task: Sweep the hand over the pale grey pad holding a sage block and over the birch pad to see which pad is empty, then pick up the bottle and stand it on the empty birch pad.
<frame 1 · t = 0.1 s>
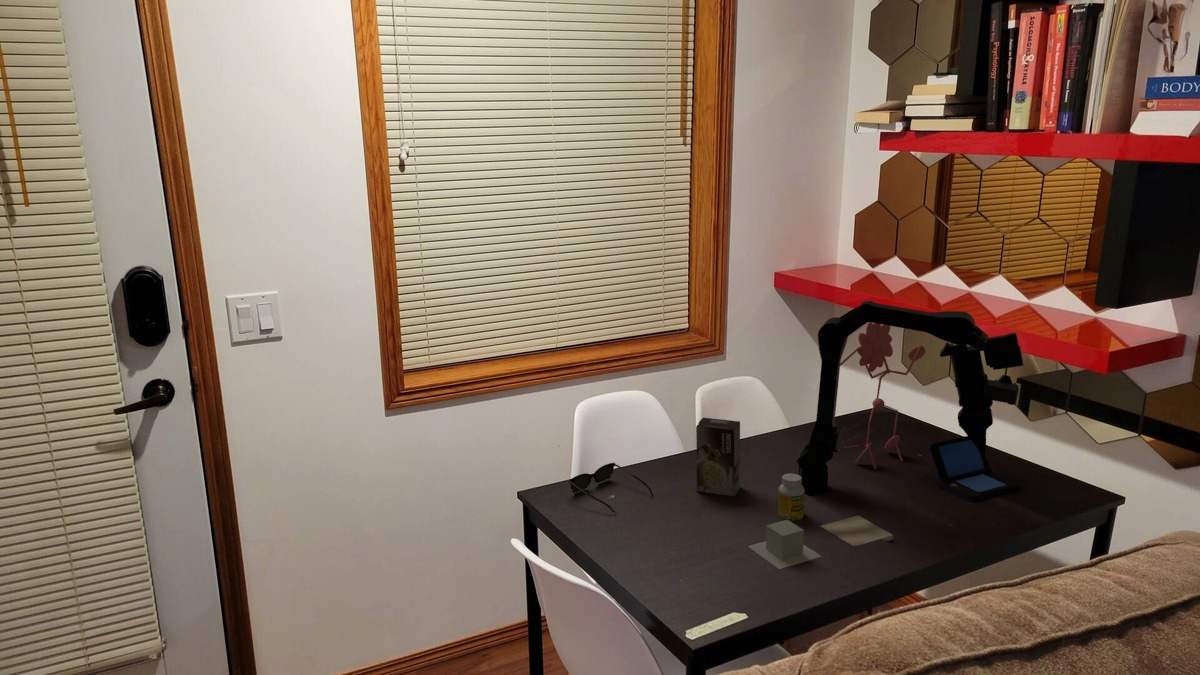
hand: (983, 444, 176), 15 cm above the table, tool pointing down, fingers open, 9 cm apart
sunglasses: (613, 499, 192), on the table
coffee box: (718, 489, 195), on the table
sage block: (784, 551, 164), point 1 cm above the table, touching grey pad
figurine: (867, 457, 211), on the table
supplement bottle: (790, 519, 179), on the table
grey pad: (784, 555, 164), on the table
handheld game console: (972, 486, 194), on the table
birch pad: (855, 534, 172), on the table
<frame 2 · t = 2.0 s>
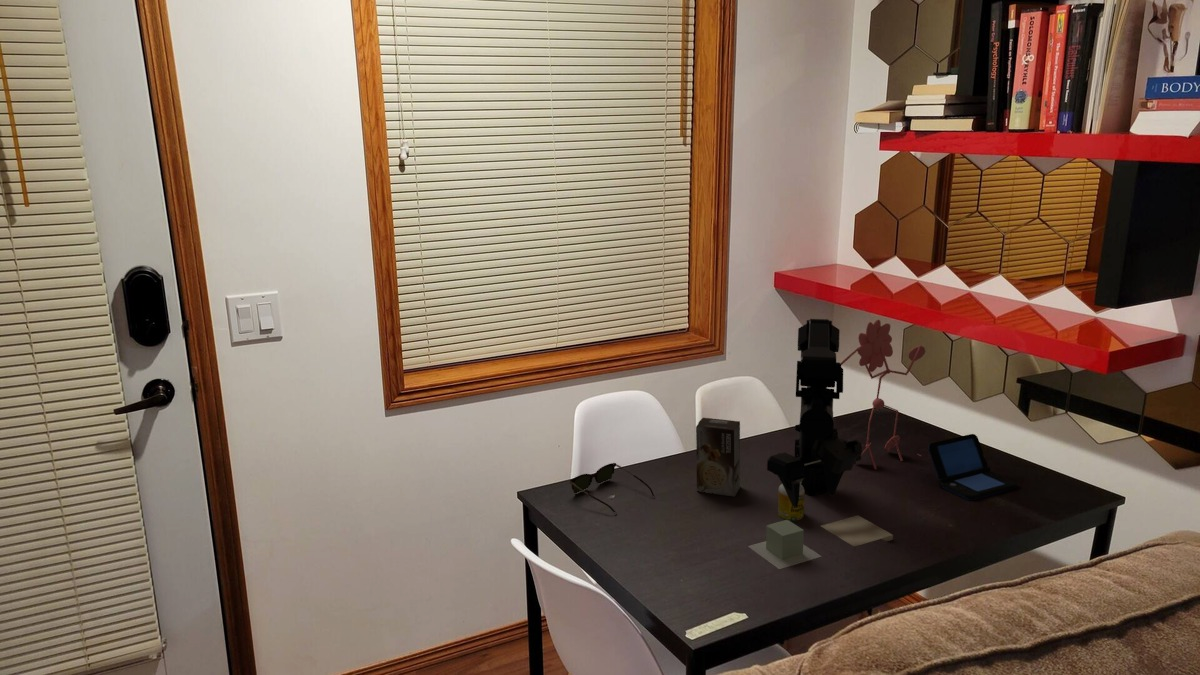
hand: (813, 500, 159), 12 cm above the table, tool pointing down, fingers open, 9 cm apart
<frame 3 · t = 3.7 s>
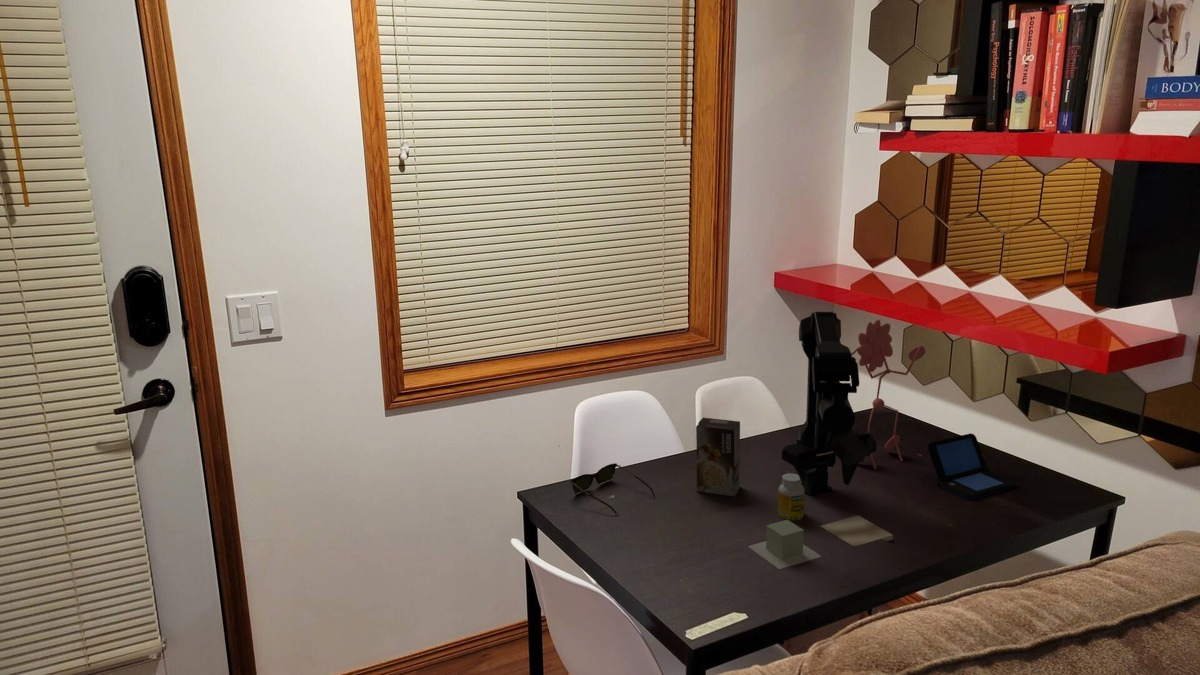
hand: (827, 489, 166), 12 cm above the table, tool pointing down, fingers open, 9 cm apart
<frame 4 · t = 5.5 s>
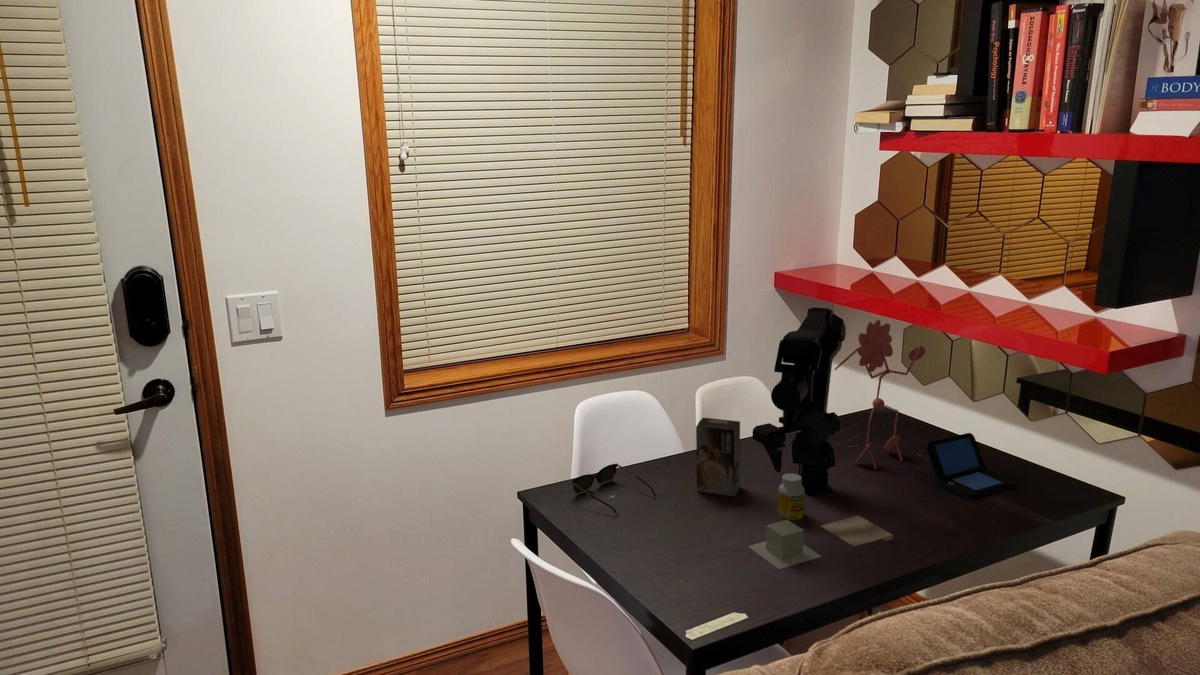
hand: (795, 467, 176), 12 cm above the table, tool pointing down, fingers open, 9 cm apart
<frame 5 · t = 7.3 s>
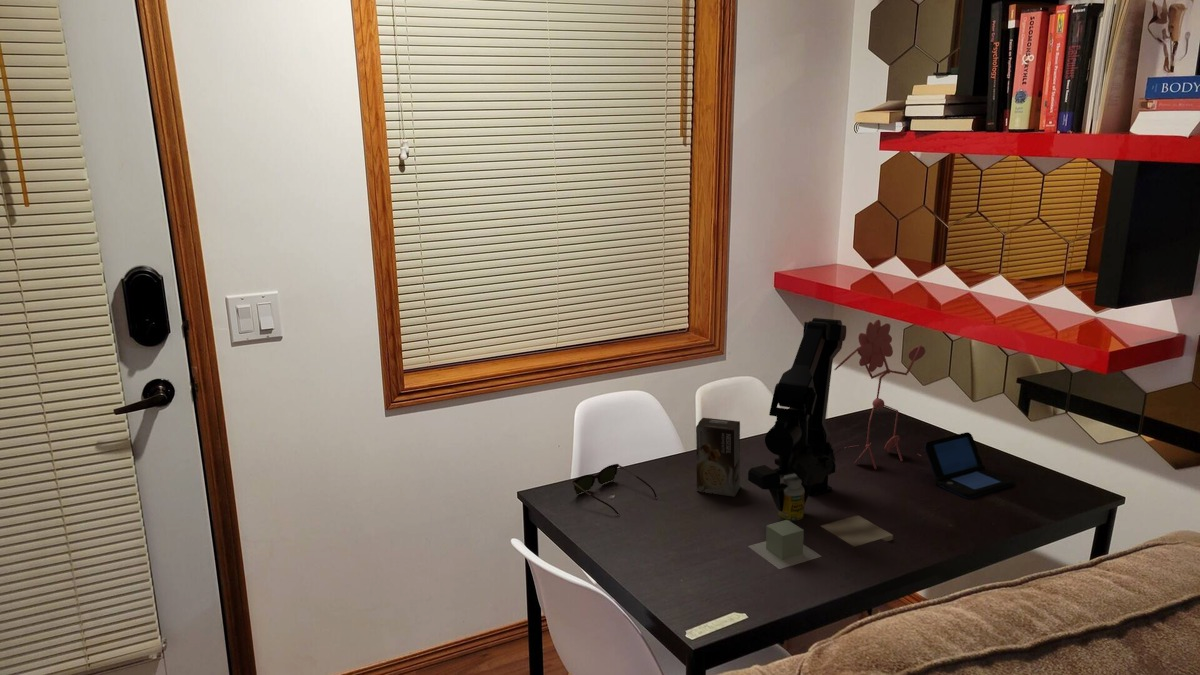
hand: (791, 507, 179), 3 cm above the table, tool pointing down, fingers closed on supplement bottle, 5 cm apart
supplement bottle: (790, 519, 179), on the table, touching gripper
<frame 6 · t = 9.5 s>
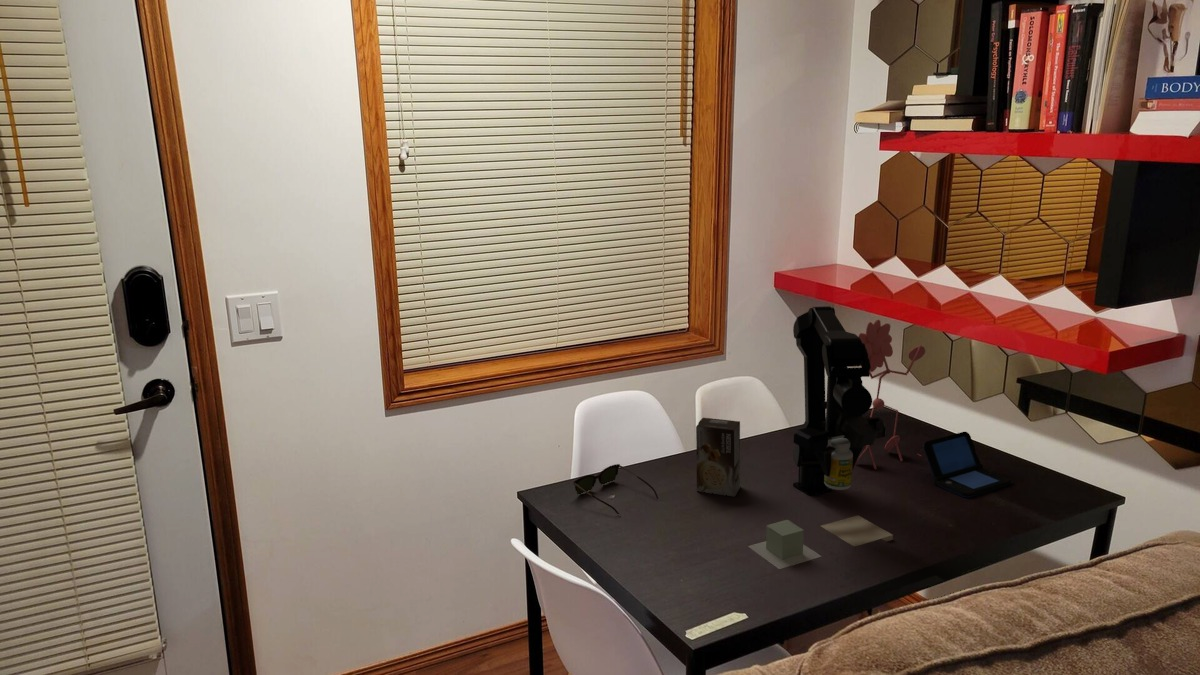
hand: (838, 473, 170), 13 cm above the table, tool pointing down, fingers closed on supplement bottle, 5 cm apart
supplement bottle: (837, 486, 171), point 10 cm above the table, touching gripper
when the fingers open (5 cm above the table, at t = 12.0 s): supplement bottle drops 1 cm, resting on birch pad.
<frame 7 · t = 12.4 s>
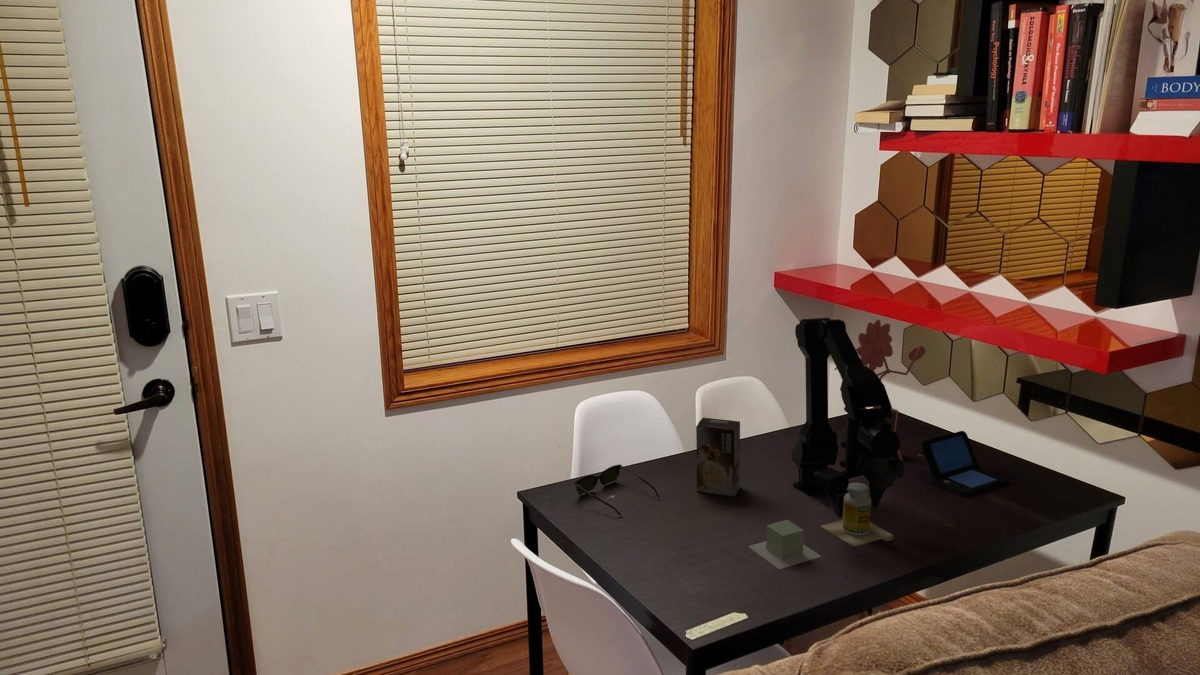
hand: (856, 512, 170), 5 cm above the table, tool pointing down, fingers open, 9 cm apart
supplement bottle: (855, 531, 171), point 1 cm above the table, touching birch pad
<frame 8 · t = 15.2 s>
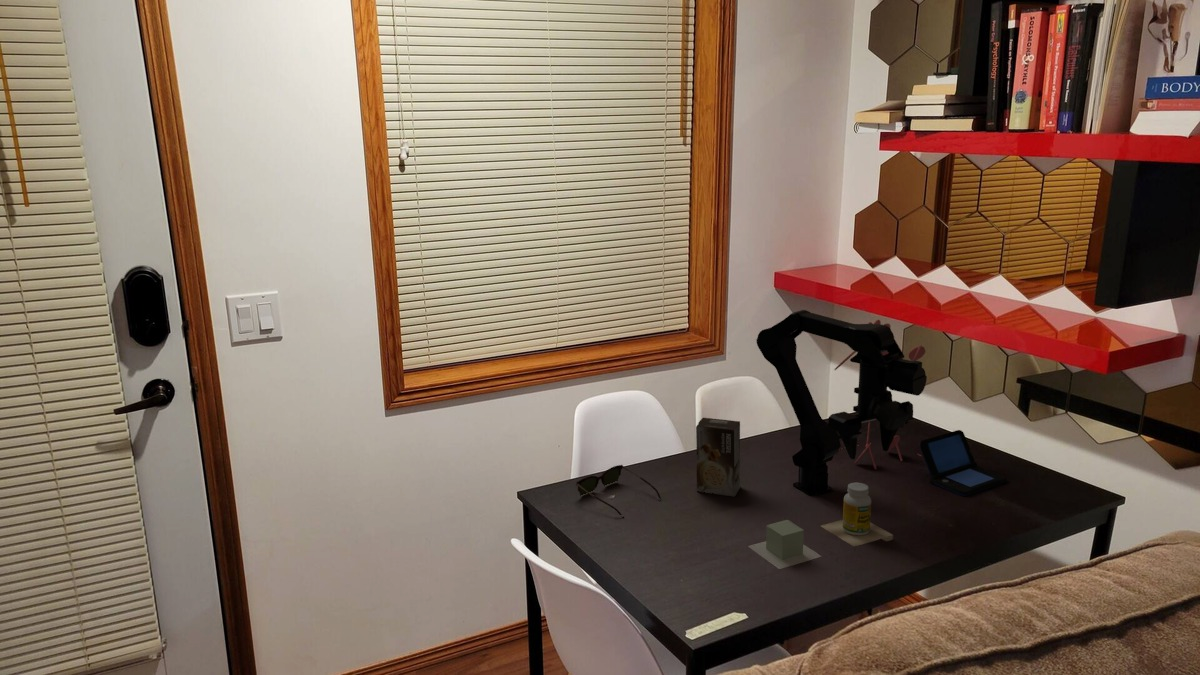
hand: (869, 454, 181), 12 cm above the table, tool pointing down, fingers open, 9 cm apart
at the end: supplement bottle 0.1 cm off-centre on the birch pad, point 0.8 cm above the birch pad's base; supplement bottle tilted 0°; sage block moved 0.0 cm from its start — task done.
